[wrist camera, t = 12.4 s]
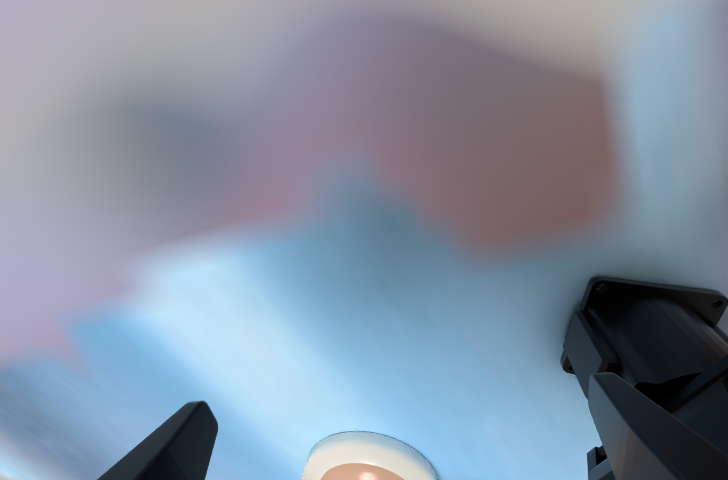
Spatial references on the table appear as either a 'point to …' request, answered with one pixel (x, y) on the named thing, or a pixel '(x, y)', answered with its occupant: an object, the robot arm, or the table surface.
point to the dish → (365, 459)
